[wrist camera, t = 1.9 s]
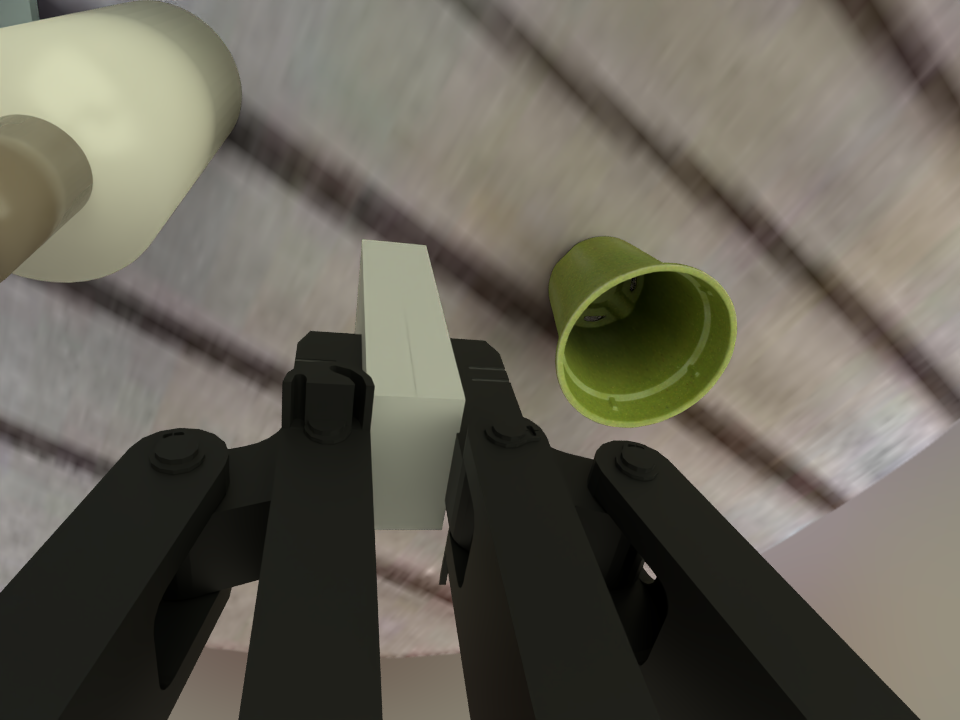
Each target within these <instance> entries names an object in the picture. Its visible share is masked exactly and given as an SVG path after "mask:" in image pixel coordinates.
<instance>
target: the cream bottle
mask: <svg viewBox="0 0 960 720" xmlns="http://www.w3.org/2000/svg"><path fill="white" fill-rule="evenodd" d="M241 102H242V90H241V82H240V77H239V73H238V70H237V67H236V64H235V62H234V60H233V57H232V55H231V53H230V52H229V50H228V48H227V47H226V45H225V44H224V42H223V41H222V40H221V39H220V37H219V36H218V35H217V34H216V33H215V32H214V31H213V30H212V29H211V28H210V27H209V26H208V25H207V24H206V23H205V22H203V21H202V20H201V19H200V18H198V17H196V16H195V15H193V14H192V13H190V12H188V11H186V10H184V9H182V8H180V7H178V6H175V5H172V4H169V3H165V2H161V1H153V0H137V1H132V2H127V3H122V4H117V5H112V6H107V7H102V8H97V9H92V10H87V11H82V12H77V13H72V14H67V15H63V16H58V17H53V18H48V19H43V20H38V21H33V22H28V23H23V24H18V25H13V26H8V27H3V28H0V283H1V282H2V281H3V280H5V279H6V278H7V277H8V276H9V275H10V274H11V273H12V274H15V275H18V276H22V277H26V278H30V279H35V280H41V281H49V282H69V283H70V282H81V281H88V280H93V279H98V278H101V277H104V276H107V275H110V274H113V273H115V272H117V271H119V270H121V269H123V268H125V267H126V266H128V265H129V264H131V263H132V262H133V261H135V260H136V259H137V258H138V257H139V256H140V255H141V254H142V253H143V252H144V251H145V250H147V248H148V247H149V245H150V244H151V243H152V241H153V240H154V239H155V237H156V236H157V234H158V233H159V232H160V230H161V229H162V228H163V226H164V225H165V223H166V222H167V221H168V219H169V218H170V216H171V215H172V214H173V212H174V211H175V209H176V208H177V207H178V205H179V204H180V202H181V201H182V200H183V198H184V197H185V196H186V194H187V193H188V191H189V190H190V189H191V187H192V186H193V184H194V183H195V182H196V180H197V179H198V177H199V176H200V175H201V173H202V172H203V170H204V169H205V168H206V166H207V165H208V164H209V162H210V161H211V159H212V158H213V157H214V155H215V154H216V152H217V151H218V150H219V148H220V147H221V145H222V144H223V143H224V141H225V140H226V138H227V137H228V136H229V134H230V133H231V132H232V130H233V128H234V126H235V124H236V122H237V120H238V117H239V114H240V109H241Z"/></svg>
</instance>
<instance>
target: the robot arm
mask: <svg viewBox="0 0 960 720" xmlns="http://www.w3.org/2000/svg"><path fill="white" fill-rule="evenodd" d="M445 510H446V511H447V517H448V523H449V531H448V536H447V541H446V547H445V552H444V557H443V562H442V568H441V573H440V581H439V585H446V580H447V575H448V574H449V581H450V587H451V594H452V601H453V607H454V614H455V620H456V627H457V633H458V640H459V647H460V653H461V660H462V666H463V673H464V679H465V686H466V692H467V699H468V706H469V712H470V718H471V720H920V719H919V718H918V717H917V716H916V715H915V714H914V713H913V712H912V711H911V709H910V708H909V707H908V706H907V705H906V704H905V703H904V702H903V701H902V700H901V699H900V698H899V697H898V696H897V695H896V694H895V693H894V692H893V691H892V690H891V689H890V688H889V687H888V686H887V685H886V684H885V683H884V682H883V681H882V680H881V679H880V678H879V676H877V675H876V674H875V672H874V671H873V670H872V669H871V668H870V667H869V666H868V665H867V664H866V663H865V662H864V661H863V660H862V659H861V658H860V657H859V656H858V655H857V654H856V653H855V652H854V651H853V650H852V649H851V648H850V647H849V646H848V645H847V644H846V642H845V641H844V640H843V639H842V638H840V636H839V635H838V634H837V633H836V632H835V631H834V630H833V629H832V628H831V627H830V626H829V625H828V624H827V623H826V622H825V621H824V620H823V619H822V618H821V617H820V616H819V615H818V614H817V613H816V612H815V610H814V609H812V608H811V606H810V605H809V604H808V603H807V602H806V601H805V600H804V599H803V598H802V597H801V596H800V595H799V594H798V593H797V592H796V591H795V590H794V589H793V588H792V587H791V586H790V585H789V584H788V583H787V582H786V581H785V580H784V579H783V578H782V577H781V575H780V574H779V573H777V571H776V570H775V569H774V568H773V567H772V566H771V565H770V564H769V563H768V562H767V561H766V560H765V559H764V558H763V557H762V556H761V555H760V554H759V553H758V552H757V551H756V550H755V549H754V548H753V547H752V546H751V545H750V543H749V542H748V541H747V540H746V539H745V538H744V537H743V536H742V535H741V534H740V533H739V532H738V531H737V530H736V529H735V528H734V527H733V526H732V525H731V524H730V523H729V522H728V521H727V520H726V519H725V518H724V517H723V516H722V515H721V514H720V513H719V512H718V510H717V509H716V508H715V507H714V506H713V505H712V504H711V503H710V502H709V501H708V500H707V499H706V498H705V497H704V496H703V495H702V494H701V493H700V492H699V491H698V490H697V489H696V488H695V487H694V486H693V485H692V484H691V483H690V482H689V481H688V480H687V479H686V477H685V476H684V475H683V474H682V473H681V472H680V471H679V470H678V469H677V468H676V467H675V466H674V465H673V464H672V463H671V462H670V461H669V460H668V459H667V458H665V457H664V456H663V455H661V454H660V453H659V452H658V451H656V450H654V449H652V448H649V447H647V446H645V445H643V444H640V443H635V442H631V441H611V442H608V443H605V444H602V445H601V446H600V448H599V449H598V450H597V451H596V453H595V457H594V460H593V459H589V458H585V457H581V456H576V455H572V454H568V453H565V452H562V451H559V450H556V449H554V448H552V447H550V444H549V442H548V439H547V437H546V435H545V434H544V432H543V431H542V429H541V428H540V427H539V426H537V425H536V424H535V423H533V422H532V421H530V420H529V419H527V418H524V417H523V416H522V413H521V410H520V408H519V405H518V402H517V400H516V397H515V394H514V392H513V389H512V386H511V383H510V382H509V378H508V375H507V373H506V371H505V367H504V365H503V362H502V359H501V357H500V354H499V353H498V352H497V351H496V350H495V349H494V348H493V347H491V346H490V345H489V344H488V343H487V342H486V341H482V340H467V339H452V338H450V337H449V333H448V330H447V326H446V322H445V318H444V314H443V310H442V306H441V302H440V298H439V294H438V291H437V287H436V283H435V279H434V275H433V271H432V267H431V263H430V259H429V256H428V252H427V248H426V245H416V244H406V243H396V242H385V241H375V240H365V239H362V247H361V260H360V273H359V285H358V298H357V310H356V323H355V334H349V333H333V332H318V331H310V332H309V333H308V334H307V335H306V336H305V337H304V338H302V339H301V340H300V341H299V342H298V344H297V351H296V358H295V364H294V369H293V370H291V371H289V372H288V373H287V375H286V376H285V378H284V380H283V384H282V428H281V429H280V430H279V431H278V432H277V433H275V434H274V435H273V436H271V437H270V438H268V439H266V440H263V441H261V442H259V443H256V444H252V445H248V446H244V447H238V448H233V449H227V447H226V444H225V442H224V441H222V440H221V439H220V438H219V437H217V436H216V435H215V434H212V433H209V432H206V431H203V430H200V429H188V428H177V429H171V430H164V431H159V432H157V433H154V434H152V435H149V436H147V437H144V438H142V439H141V440H140V441H138V442H137V443H136V444H134V445H133V446H132V447H130V448H129V449H128V450H127V452H126V453H125V454H124V455H123V456H122V457H121V458H120V459H119V461H118V462H117V463H116V464H115V465H114V466H113V467H112V468H111V469H110V471H109V472H108V473H107V474H106V475H105V476H104V477H103V478H102V480H101V481H100V482H99V483H98V484H97V485H96V486H95V487H94V489H93V490H92V491H91V492H90V493H89V494H88V495H87V496H86V497H85V499H84V500H83V501H82V502H81V503H80V504H79V505H78V506H77V508H76V509H75V510H74V511H73V512H72V513H71V514H70V515H69V517H68V518H67V519H66V520H65V521H64V522H63V523H62V524H61V525H60V527H59V528H58V529H57V530H56V531H55V532H54V533H53V534H52V536H51V537H50V538H49V539H48V540H47V541H46V542H45V543H44V544H43V546H42V547H41V548H40V549H39V550H38V551H37V552H36V553H35V555H34V556H33V557H32V558H31V559H30V560H29V561H28V562H27V564H26V565H25V566H24V567H23V568H22V569H21V570H20V571H19V572H18V574H17V575H16V576H15V577H14V578H13V579H12V580H11V581H10V583H9V584H8V585H7V586H6V587H5V588H4V589H3V590H2V592H1V593H0V720H167V719H168V717H169V715H170V713H171V711H172V709H173V708H174V706H175V704H176V702H177V699H178V698H179V696H180V694H181V692H182V690H183V688H184V686H185V684H186V682H187V680H188V678H189V676H190V674H191V672H192V670H193V668H194V666H195V664H196V662H197V660H198V658H199V656H200V654H201V652H202V650H203V648H204V646H205V644H206V642H207V640H208V638H209V636H210V634H211V632H212V631H213V629H214V627H215V625H216V623H217V621H218V619H219V617H220V615H221V613H222V611H223V609H224V607H225V605H226V603H227V601H228V599H229V597H230V593H231V588H232V587H234V586H238V585H241V584H245V583H249V582H252V581H256V580H259V584H258V591H257V598H256V605H255V611H254V618H253V625H252V632H251V638H250V645H249V652H248V659H247V665H246V673H245V679H244V686H243V693H242V699H241V706H240V713H239V720H383V719H382V697H381V672H380V648H379V624H378V600H377V576H376V552H375V530H442V526H443V521H444V515H445ZM644 562H646V563H647V564H648V566H649V567H650V568H651V569H652V571H653V572H654V573H655V575H656V576H657V577H656V579H655V580H653V579H652V578H651V577H650V576H649V575H648V574H647V572H646V571H645V570H644V568H643V565H644Z"/></svg>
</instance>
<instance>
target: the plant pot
mask: <svg viewBox="0 0 960 720" xmlns="http://www.w3.org/2000/svg"><path fill="white" fill-rule="evenodd" d="M634 277H637V278H636V281H637V284H636V287H635V289H634V290H633V291H631V290H630V287H631V279H632V278H634ZM549 299H550V303H551V307H552V311H553V315H554V319H555V323H556V327H557V331H558V335H559V340H558V344H557V348H556V359H555V364H556V373H557V378H558V381H559V384H560V387H561V389H562V391H563V393H564V395H565V397H566V398H567V400H568V401H569V403H570V404H571V405H572V406H573V407H574V408H575V409H576V410H577V411H578V412H580V413H581V414H582V415H584V416H585V417H587V418H589V419H590V420H592V421H595V422H597V423H600V424H603V425H607V426H612V427H623V428H634V427H640V426H646V425H650V424H655V423H658V422H661V421H664V420H667V419H668V418H670V417H673V416H675V415H677V414H679V413H681V412H683V411H685V410H686V409H688V408H689V407H691V406H692V405H694V404H695V403H696V402H697V401H699V400H700V399H701V398H702V397H703V396H705V395H706V394H707V393H708V392H709V390H710V389H711V388H712V387H713V386H714V385H715V383H716V382H717V380H718V379H719V378H720V376H721V375H722V373H723V372H724V370H725V369H726V367H727V365H728V363H729V361H730V359H731V356H732V353H733V350H734V346H735V341H736V336H737V321H736V313H735V309H734V306H733V303H732V301H731V299H730V297H729V296H728V294H727V292H726V291H725V290H724V288H723V287H722V286H721V285H720V284H719V283H718V282H717V281H716V280H715V279H714V278H712V277H711V276H709V275H708V274H706V273H704V272H703V271H701V270H698V269H696V268H693V267H690V266H687V265H682V264H677V263H662V262H660V261H659V260H657V259H655V258H653V257H652V256H650V255H648V254H646V253H645V252H643V251H641V250H640V249H638V248H636V247H635V246H633V245H631V244H629V243H628V242H626V241H623V240H621V239H618V238H614V237H595V238H591V239H587V240H585V241H582V242H580V243H578V244H576V245H575V246H574V247H573V248H572V249H571V250H570V251H569V252H568V253H567V254H566V255H565V256H564V257H563V258H562V259H561V260H560V261H559V262H558V263H557V264H556V265H555V267H554V269H553V271H552V274H551V277H550V281H549ZM603 315H605V317H604V318H602V319H600V320H597V321H586V320H584V317H586V316H603Z"/></svg>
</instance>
